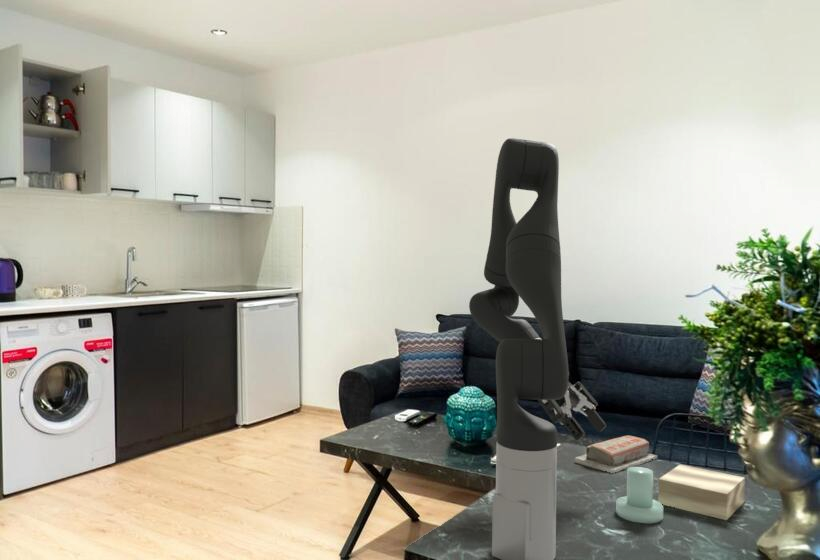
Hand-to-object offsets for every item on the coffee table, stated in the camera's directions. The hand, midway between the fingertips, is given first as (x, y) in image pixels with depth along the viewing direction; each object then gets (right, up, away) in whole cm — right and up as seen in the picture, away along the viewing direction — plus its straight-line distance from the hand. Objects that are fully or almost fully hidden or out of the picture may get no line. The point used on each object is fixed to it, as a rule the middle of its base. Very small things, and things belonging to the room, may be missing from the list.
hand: (592, 433), depth 124 cm
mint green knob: (+7, -13, -6) cm, 16 cm away
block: (+21, -14, 0) cm, 25 cm away
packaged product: (+13, -13, +26) cm, 32 cm away
